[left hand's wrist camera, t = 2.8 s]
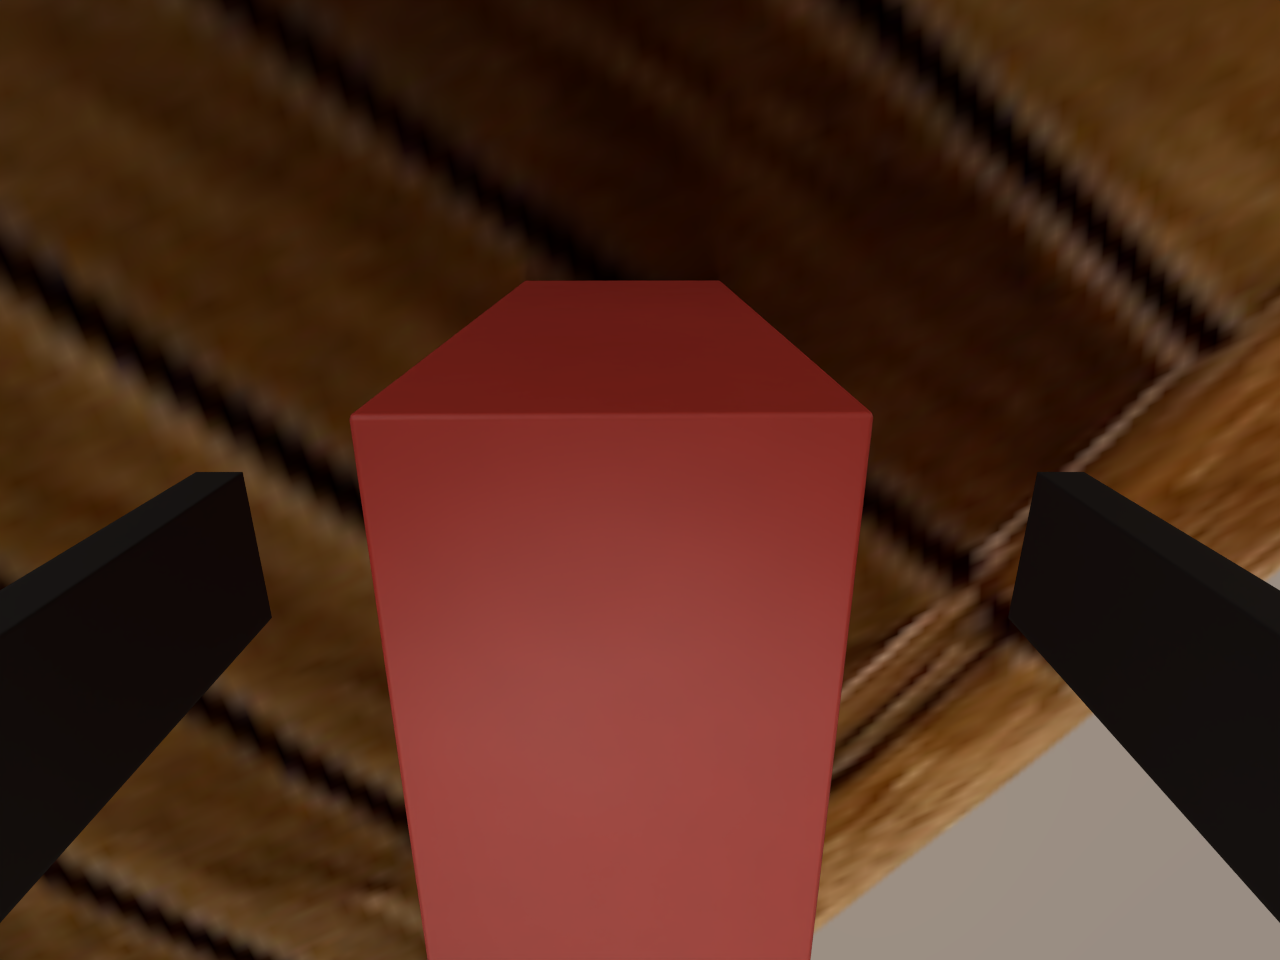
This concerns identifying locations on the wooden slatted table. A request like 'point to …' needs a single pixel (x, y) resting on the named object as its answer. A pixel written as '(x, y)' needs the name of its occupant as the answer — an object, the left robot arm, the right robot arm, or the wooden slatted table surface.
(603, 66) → the wooden slatted table surface
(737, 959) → the brick
